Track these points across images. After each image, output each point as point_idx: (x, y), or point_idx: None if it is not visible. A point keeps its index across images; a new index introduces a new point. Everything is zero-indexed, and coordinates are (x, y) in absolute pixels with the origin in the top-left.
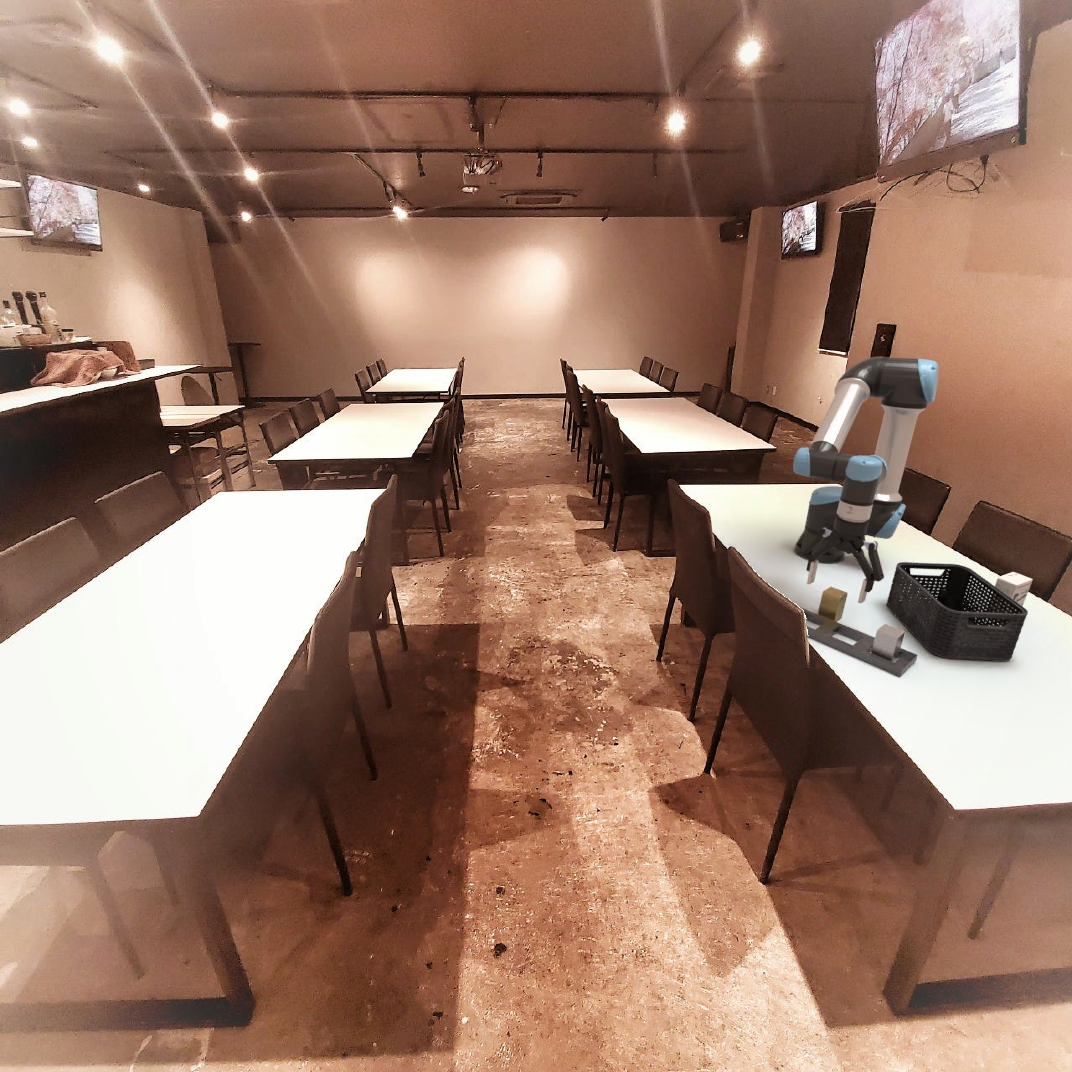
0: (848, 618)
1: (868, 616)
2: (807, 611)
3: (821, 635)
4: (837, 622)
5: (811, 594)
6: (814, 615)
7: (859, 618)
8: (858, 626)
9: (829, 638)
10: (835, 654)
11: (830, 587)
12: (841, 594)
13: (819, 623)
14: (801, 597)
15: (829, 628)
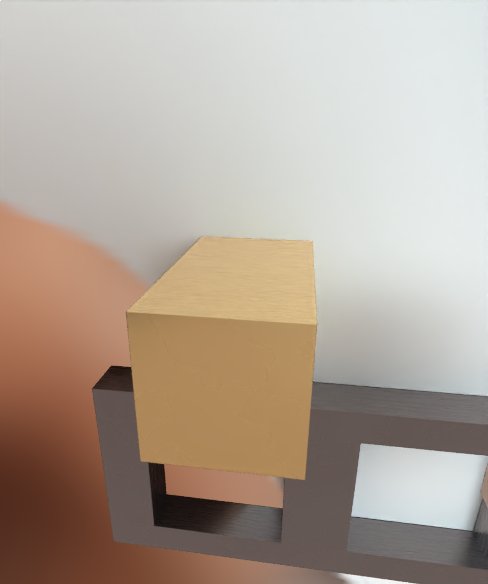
0: (346, 203)
1: (454, 45)
2: None
3: (328, 570)
4: (339, 412)
5: (8, 49)
6: None
7: (406, 140)
8: (432, 260)
9: (370, 576)
10: None
11: (136, 336)
12: (284, 405)
13: None
14: (5, 159)
15: (331, 496)
